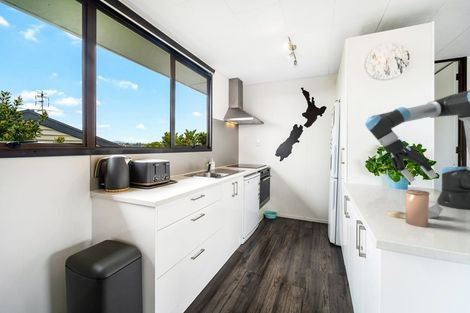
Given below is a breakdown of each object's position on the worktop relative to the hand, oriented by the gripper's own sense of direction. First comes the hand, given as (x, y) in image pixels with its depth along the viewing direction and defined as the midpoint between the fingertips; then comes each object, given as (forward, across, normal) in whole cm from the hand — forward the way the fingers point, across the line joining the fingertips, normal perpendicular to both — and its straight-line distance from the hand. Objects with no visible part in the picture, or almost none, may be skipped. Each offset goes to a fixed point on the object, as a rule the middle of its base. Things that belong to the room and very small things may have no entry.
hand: (422, 179), depth 91 cm
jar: (+15, -2, -14) cm, 21 cm away
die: (+19, -12, -2) cm, 23 cm away
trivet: (+12, -12, -13) cm, 22 cm away
